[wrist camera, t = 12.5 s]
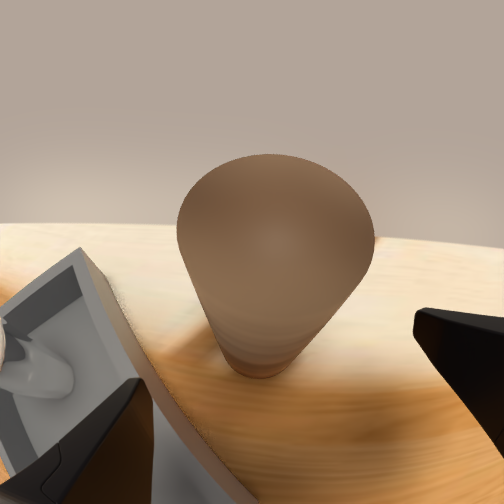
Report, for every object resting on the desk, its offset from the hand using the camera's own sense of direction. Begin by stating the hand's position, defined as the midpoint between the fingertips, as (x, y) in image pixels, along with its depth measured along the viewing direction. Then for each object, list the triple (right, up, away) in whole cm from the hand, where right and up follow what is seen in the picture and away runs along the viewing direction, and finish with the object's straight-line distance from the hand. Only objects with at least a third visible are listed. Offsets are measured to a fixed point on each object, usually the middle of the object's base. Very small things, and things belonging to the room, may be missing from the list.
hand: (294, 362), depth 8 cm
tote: (-12, -9, +6) cm, 17 cm away
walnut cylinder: (-1, -3, +10) cm, 11 cm away
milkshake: (-15, -6, +7) cm, 18 cm away
